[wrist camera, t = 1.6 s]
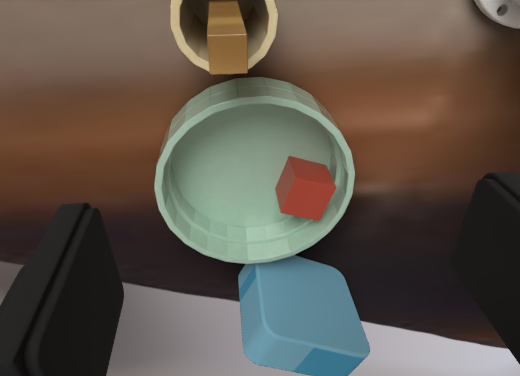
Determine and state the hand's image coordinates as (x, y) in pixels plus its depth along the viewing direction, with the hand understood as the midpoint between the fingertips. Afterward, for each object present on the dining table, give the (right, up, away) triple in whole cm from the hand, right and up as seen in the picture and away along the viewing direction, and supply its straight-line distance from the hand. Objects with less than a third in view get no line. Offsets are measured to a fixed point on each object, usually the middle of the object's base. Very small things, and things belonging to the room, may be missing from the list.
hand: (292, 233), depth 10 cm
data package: (+3, -8, +37) cm, 38 cm away
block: (+3, +2, +29) cm, 29 cm away
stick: (-4, +15, +19) cm, 25 cm away
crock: (-4, +16, +20) cm, 26 cm away
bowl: (-2, +4, +28) cm, 28 cm away
